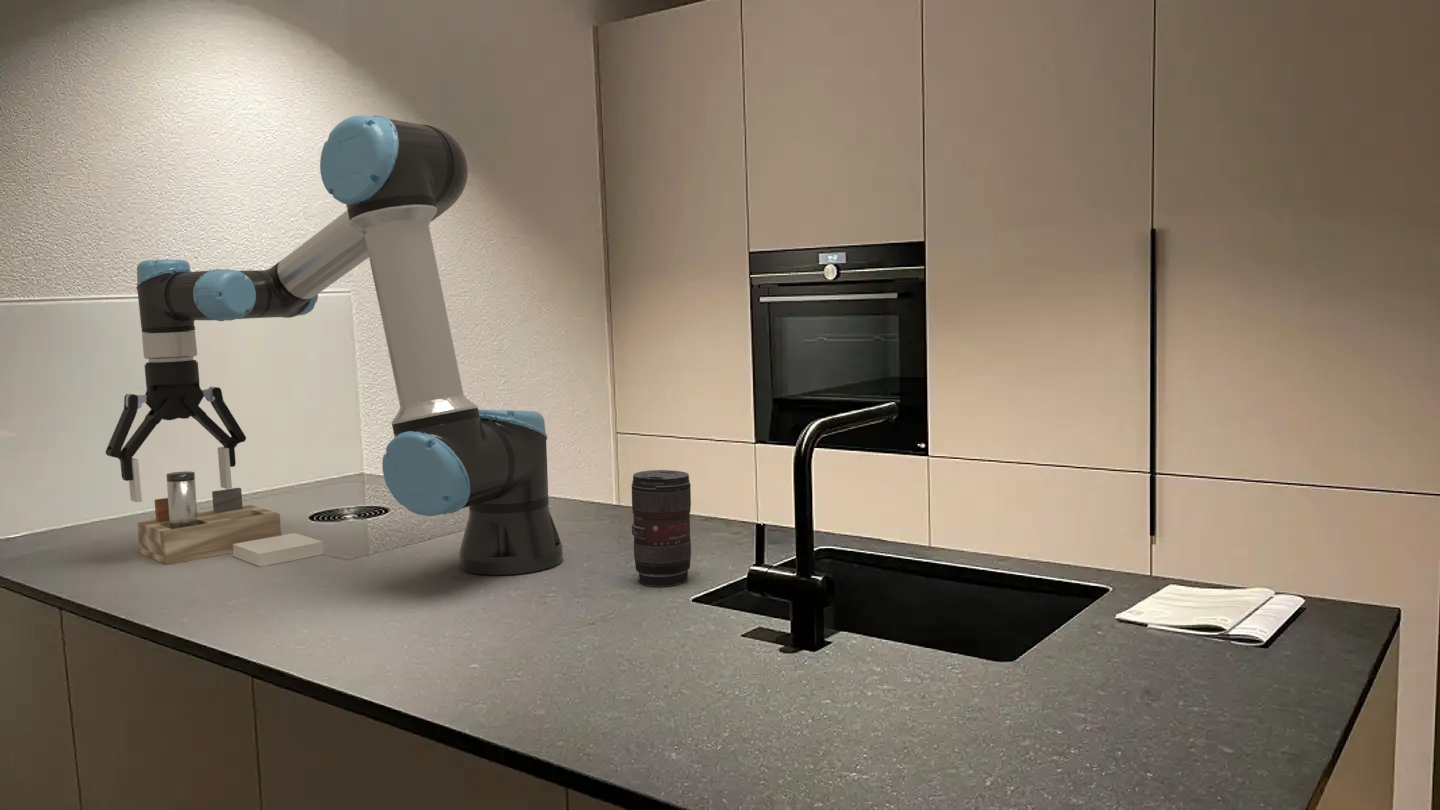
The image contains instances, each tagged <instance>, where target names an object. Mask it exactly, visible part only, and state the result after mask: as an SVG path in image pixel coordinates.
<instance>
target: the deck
mask: <svg viewBox="0 0 1440 810" xmlns="http://www.w3.org/2000/svg"><path fill="white" fill-rule="evenodd" d="M322 555H325V553H324V542H323V541H322V540H318V539H315V538H311V537H308V536H305V535H304V534H303V535H302V534H300V533H296V532H293V533H288V534H281V536H275V537H270V538H264V539H258V540H253V541H247V542H242V543H236V544H233V557H234V558H236V559H239V560H241V561H245V562H247V563H250V564H251V565H254V566H256V567H260V568H262V567H266V566H270V565H271V566H272V565H276V564H277V565H278V564H281V563H286V562H287V563H288V562H292V561H297V560H301V559H308V558H312V557H316V556H322Z"/></svg>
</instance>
